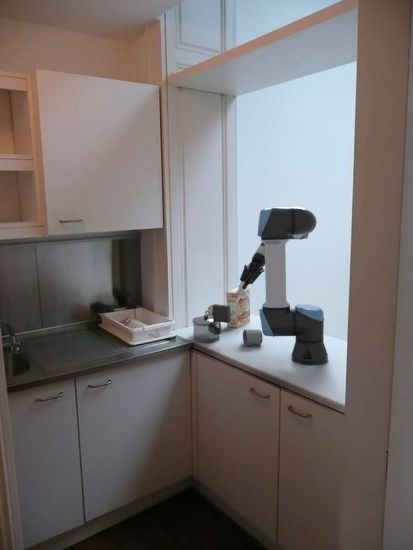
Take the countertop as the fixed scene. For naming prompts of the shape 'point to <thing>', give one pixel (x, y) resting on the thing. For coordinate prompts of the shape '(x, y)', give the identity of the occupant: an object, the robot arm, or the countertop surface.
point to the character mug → (211, 313)
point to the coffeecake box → (238, 307)
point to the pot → (206, 333)
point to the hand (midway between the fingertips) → (238, 293)
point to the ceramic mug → (252, 337)
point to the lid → (215, 316)
